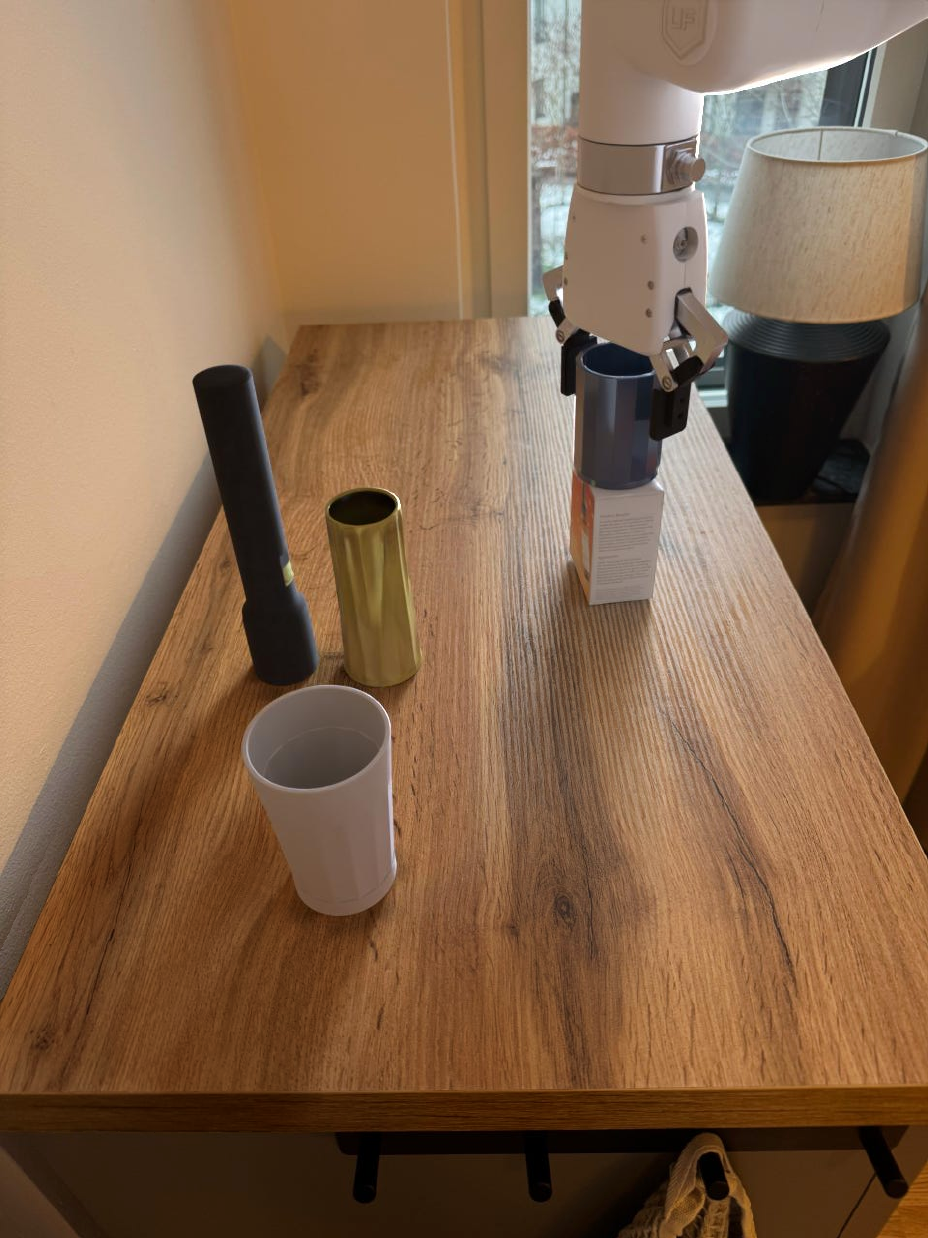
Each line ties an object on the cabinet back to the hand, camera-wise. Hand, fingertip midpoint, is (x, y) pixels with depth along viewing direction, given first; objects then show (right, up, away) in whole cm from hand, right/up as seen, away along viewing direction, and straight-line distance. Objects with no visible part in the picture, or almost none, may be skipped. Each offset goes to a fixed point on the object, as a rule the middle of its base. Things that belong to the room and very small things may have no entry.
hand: (620, 411), depth 69 cm
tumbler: (0, -4, +3) cm, 5 cm away
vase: (-18, -19, +3) cm, 26 cm away
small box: (+1, -12, +10) cm, 16 cm away
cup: (-19, -31, -12) cm, 39 cm away
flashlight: (-26, -19, +3) cm, 32 cm away
